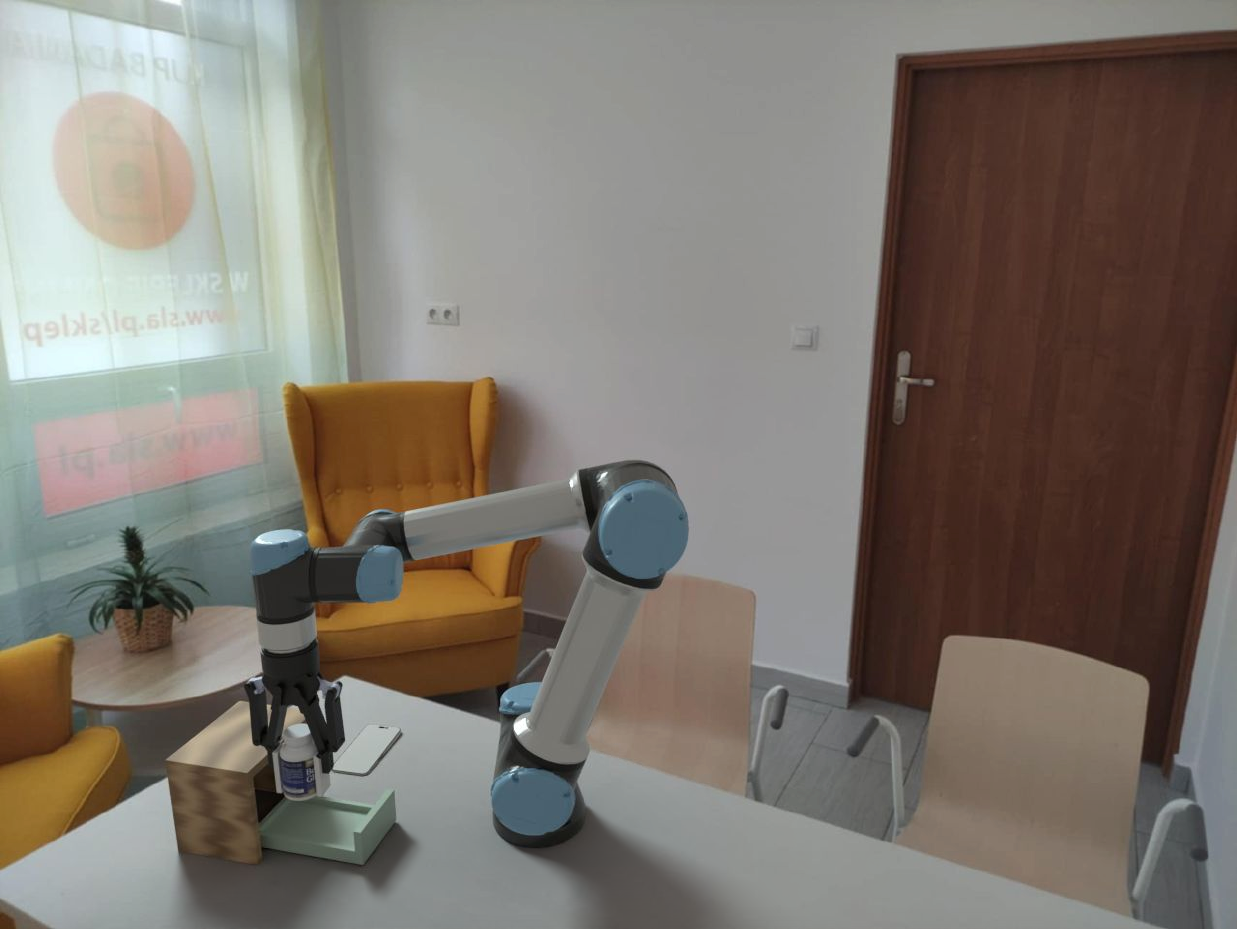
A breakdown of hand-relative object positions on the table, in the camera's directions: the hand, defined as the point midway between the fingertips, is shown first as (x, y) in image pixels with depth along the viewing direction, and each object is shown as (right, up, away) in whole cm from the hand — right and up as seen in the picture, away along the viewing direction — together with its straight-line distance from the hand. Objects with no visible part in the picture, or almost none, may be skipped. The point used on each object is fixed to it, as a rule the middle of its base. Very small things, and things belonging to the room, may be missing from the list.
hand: (303, 788), depth 130 cm
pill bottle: (0, 0, 0) cm, 1 cm away
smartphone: (-1, -7, +37) cm, 38 cm away
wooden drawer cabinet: (-14, -11, +17) cm, 25 cm away
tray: (-1, -12, +14) cm, 19 cm away
